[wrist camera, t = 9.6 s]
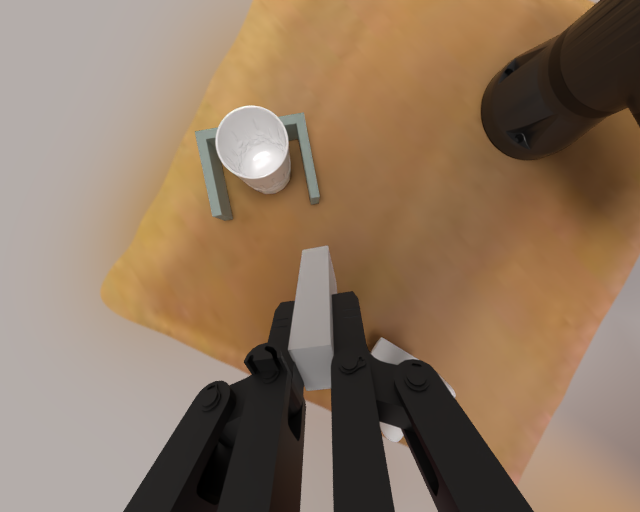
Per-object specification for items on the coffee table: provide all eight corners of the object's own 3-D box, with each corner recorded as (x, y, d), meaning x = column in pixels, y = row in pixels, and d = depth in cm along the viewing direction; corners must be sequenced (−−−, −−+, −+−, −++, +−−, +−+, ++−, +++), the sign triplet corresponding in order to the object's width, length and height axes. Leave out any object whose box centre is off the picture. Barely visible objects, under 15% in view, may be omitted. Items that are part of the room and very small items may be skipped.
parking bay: (304, 129, 36) (303, 112, 31) (318, 203, 36) (319, 196, 31) (209, 146, 35) (194, 131, 31) (225, 220, 35) (212, 216, 31)
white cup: (235, 154, 35) (205, 116, 25) (286, 139, 36) (276, 96, 26) (251, 204, 36) (228, 187, 26) (301, 189, 36) (297, 167, 26)
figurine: (346, 373, 37) (370, 458, 22) (378, 322, 37) (424, 372, 22) (384, 396, 37) (434, 495, 22) (416, 345, 37) (487, 411, 22)
